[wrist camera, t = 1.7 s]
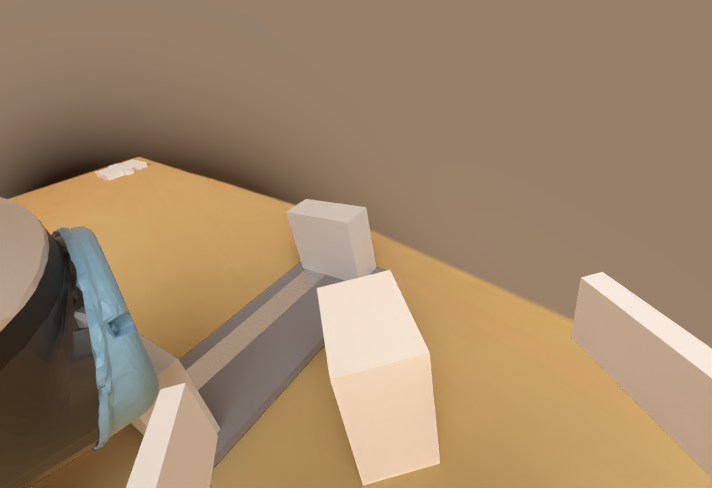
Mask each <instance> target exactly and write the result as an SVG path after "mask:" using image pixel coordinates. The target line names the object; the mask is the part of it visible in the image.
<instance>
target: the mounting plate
mask: <svg viewBox="0 0 712 488" xmlns="http://www.w3.org/2000/svg"><path fill="white" fill-rule="evenodd" d="M108 167H109V168H106V169H103V170H100V171H97V172H95V174H96V175H97V177H100V178H103V179H106V180H112V179H115V178H118V177H120V176H123V175H131V174H133V173H135V171H137V170H140V169H142V168H145V167H148V165H147V163H146V162H142V161H137V160H129V161H126V162H124V163H121V164H114V165H111V166H108Z"/></svg>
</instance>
